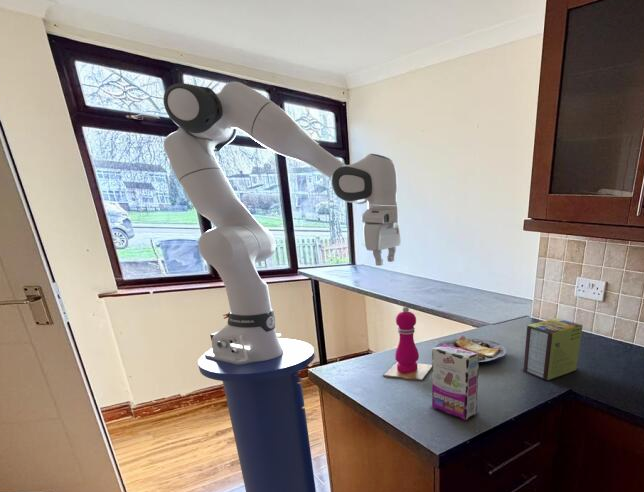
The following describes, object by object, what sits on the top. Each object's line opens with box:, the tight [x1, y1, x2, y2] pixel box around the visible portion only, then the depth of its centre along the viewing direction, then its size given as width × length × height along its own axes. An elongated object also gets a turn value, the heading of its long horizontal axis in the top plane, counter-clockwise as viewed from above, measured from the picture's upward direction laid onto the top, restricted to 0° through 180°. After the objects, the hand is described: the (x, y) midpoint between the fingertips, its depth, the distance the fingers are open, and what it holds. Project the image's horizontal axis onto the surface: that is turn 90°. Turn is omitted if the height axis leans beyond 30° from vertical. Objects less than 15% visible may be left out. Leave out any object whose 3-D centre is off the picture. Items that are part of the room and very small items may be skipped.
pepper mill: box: [394, 306, 420, 373], centre depth 123 cm, size 7×7×20 cm
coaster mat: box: [383, 361, 432, 381], centre depth 127 cm, size 12×12×1 cm
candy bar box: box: [431, 344, 480, 421], centre depth 101 cm, size 11×5×16 cm, turn 55°
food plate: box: [435, 335, 507, 363], centre depth 142 cm, size 25×23×4 cm
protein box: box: [522, 317, 584, 381], centre depth 130 cm, size 10×15×16 cm
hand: (385, 263), depth 126 cm, fingers open, 8 cm apart
